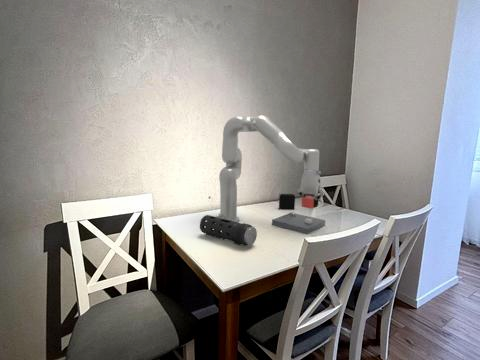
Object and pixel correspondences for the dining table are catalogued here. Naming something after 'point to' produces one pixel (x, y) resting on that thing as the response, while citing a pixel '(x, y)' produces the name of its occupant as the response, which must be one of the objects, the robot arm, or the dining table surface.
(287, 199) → the electronic device
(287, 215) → the board
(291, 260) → the dining table surface
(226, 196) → the robot arm
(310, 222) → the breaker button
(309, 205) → the red block
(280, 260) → the dining table surface
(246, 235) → the muzzle brake
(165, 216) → the dining table surface
